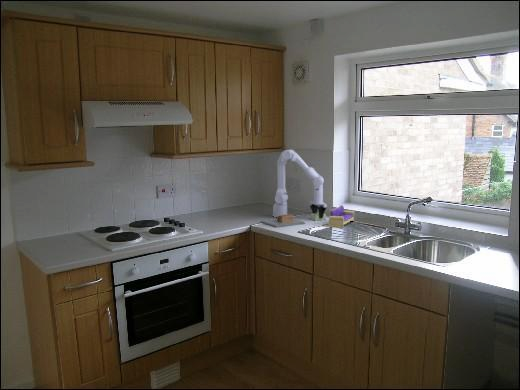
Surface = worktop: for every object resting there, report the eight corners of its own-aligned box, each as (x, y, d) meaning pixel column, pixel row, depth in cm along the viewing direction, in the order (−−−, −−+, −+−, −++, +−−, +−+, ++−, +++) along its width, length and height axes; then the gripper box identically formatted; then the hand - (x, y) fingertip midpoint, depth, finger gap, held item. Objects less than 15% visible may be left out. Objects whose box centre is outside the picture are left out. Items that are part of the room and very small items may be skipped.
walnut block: (277, 221, 275) (277, 215, 275) (288, 219, 279) (288, 214, 279) (282, 222, 270) (282, 216, 270) (293, 221, 274) (293, 215, 274)
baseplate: (260, 222, 278) (260, 220, 277) (287, 219, 288) (287, 217, 287) (276, 227, 262) (276, 225, 262) (304, 223, 272) (304, 221, 272)
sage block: (310, 219, 285) (310, 213, 285) (320, 218, 289) (320, 212, 289) (315, 220, 281) (315, 215, 280) (325, 219, 285) (325, 213, 284)
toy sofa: (342, 228, 259) (343, 210, 257) (328, 227, 263) (328, 209, 262) (354, 222, 277) (355, 205, 275) (341, 220, 281) (341, 204, 280)
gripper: (330, 196, 279) (330, 218, 281) (316, 193, 291) (316, 214, 293) (321, 197, 275) (321, 219, 277) (307, 194, 288) (307, 215, 289)
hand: (318, 217), depth 285 cm, fingers closed on sage block, 5 cm apart
